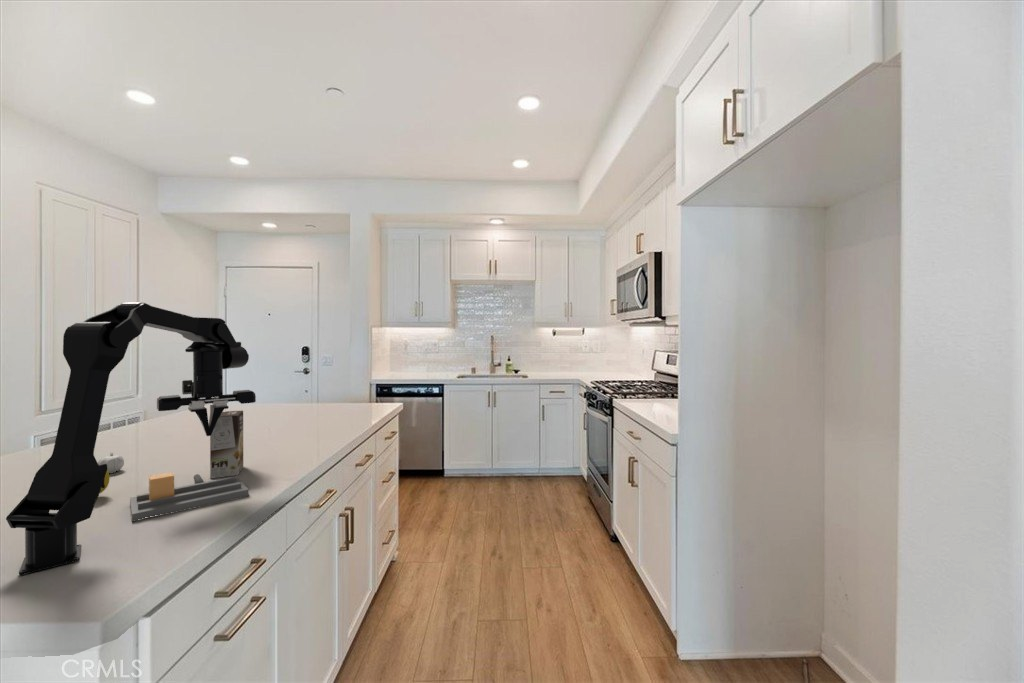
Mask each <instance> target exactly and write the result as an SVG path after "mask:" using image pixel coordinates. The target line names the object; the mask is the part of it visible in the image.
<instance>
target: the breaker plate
mask: <svg viewBox="0 0 1024 683" xmlns="http://www.w3.org/2000/svg"><path fill="white" fill-rule="evenodd" d="M249 494H250V493H249V488H248V487H247V486H246V485H245V484H244V483H243V481H242V480H240V479H239V477H237V476H228V477H223V478H219V479H214V480H213V479H212V480H209V481H204V482H203V483H194V484H187V485H182V486H177V487H174V495H173V496H168V497H163V498H158V499H153V500H149V492H145V493H141V494H136V496H133V497H129V507H130V508H131V509H130V516H131V522H132V521H133V522H135V521H134V520H138V519H142V518H145V517H150V516H155V515H160V514H165V515H167V514H166V513H169V514H172V513H171V512H174V513H177V512H176V511H178V512H181V511H180V510H183V511H185V510H184V509H187V510H190V509H189V508H192V509H195V508H194V507H196V508H200V507H199V506H201V507H205V506H209V505H214V504H218V502H219V503H223V502H222V501H224V502H228V501H231V499H233V500H237V499H241V498H245V497H249ZM236 498H237V499H236ZM227 500H228V501H227ZM204 505H205V506H204ZM160 516H161V515H160ZM142 520H143V519H142ZM138 521H139V520H138Z"/></svg>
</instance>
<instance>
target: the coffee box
mask: <svg viewBox="0 0 1024 683" xmlns="http://www.w3.org/2000/svg"><path fill="white" fill-rule="evenodd" d="M209 441H210V442H209V445H210V446H209V447H210V448H209V450H210V452H209V453H210V454H209V460H210V462H209V463H210V464H209V470H210V471H209V473H210V474H209V478H210V479H216V477H218V478H225V477H224V476H227V477H234V476H235V475H236V476H238V475H239V474H240V472H241V471H242V469H243V468H244V410H229V411H228V410H227V411H223V412H222V413H221V415H220V417H219V418H218V420H217V423H216V425H215V427H214V430H213V432H212V435H211V436H209ZM242 467H243V468H242ZM236 476H235V477H236Z"/></svg>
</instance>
